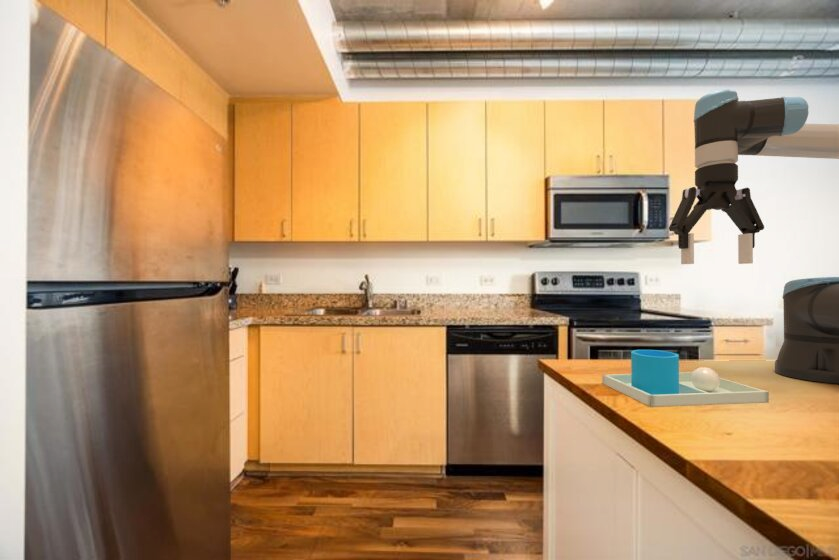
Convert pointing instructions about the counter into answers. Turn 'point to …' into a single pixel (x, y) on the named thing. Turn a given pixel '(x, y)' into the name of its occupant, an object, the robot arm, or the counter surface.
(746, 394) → the grey-green flat rectangular tray
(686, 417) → the counter surface
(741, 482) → the counter surface
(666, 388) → the mug
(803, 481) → the counter surface
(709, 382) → the egg
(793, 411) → the counter surface
